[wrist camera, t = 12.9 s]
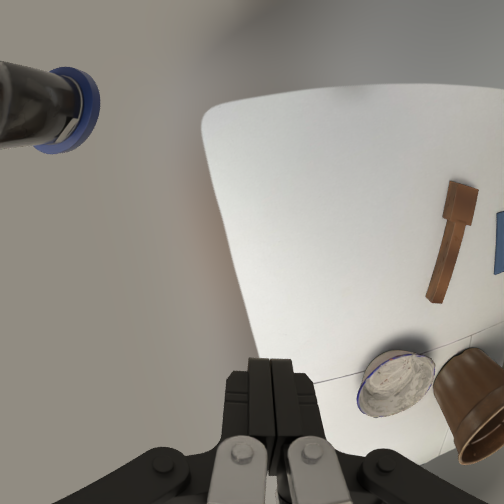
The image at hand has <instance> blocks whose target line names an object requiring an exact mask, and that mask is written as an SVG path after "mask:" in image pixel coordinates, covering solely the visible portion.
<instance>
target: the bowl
mask: <svg viewBox="0 0 504 504" xmlns="http://www.w3.org/2000/svg"><path fill="white" fill-rule="evenodd" d="M434 375H435V363H434V362H433V360H432V359H431V358H429V357H427V356H424V355H421V354H416V353H414V352H413V353H412V352H408V351H403V350H391V351H388V352H385V353H383V354H381V355H380V356H378V357H377V358H375V359H374V360H373V361H372V362H371V363H370V365H369V366H368V368H367V369H366V372H365V374H364V377H363V380H362V383H361V386H360V388H359V391H358V394H357V405H358V408H359V409H360V411H361V412H362V413H364V414H366V415H368V416H371V417H374V418H377V417H386V416H390V415H394V414H397V413H399V412H402V411H405V410H406V409H408V408H409V407H411V406H413V405H414V404H416V403H417V402H418V401H419V400H420V399H421V398H422V397H423V396H424V395H425V394H426V393H427V391H428V390H429V388H430V386H431V385H432V382H433V379H434Z"/></svg>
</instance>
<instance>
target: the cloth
mask: <svg viewBox="0 0 504 504" xmlns="http://www.w3.org/2000/svg"><path fill="white" fill-rule="evenodd" d="M502 272H504V211H503V212H499V213H497V229H496V252H495V266H494V275H496V274H499V273H502Z"/></svg>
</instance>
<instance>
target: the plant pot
mask: <svg viewBox="0 0 504 504" xmlns="http://www.w3.org/2000/svg"><path fill="white" fill-rule="evenodd" d="M433 388H434V396H435V398H436V399H437V401H438V404H439V406H440V408H441V410H442V412H443V414H444V416H445V419H446V421H447V423H448V425H449V427H450V430H451V432H452V434H453V437H454V444H455V446H456V448H457V451H458V454H459V455H458V460H459V462H460V464H462V465H468V464H473V463H476V462H478V461H481V460H483V459H485V458H487V457H488V456H490V455H492V454H493V453H495V452H496V451H497V450H499V449H500V448H501V447H503V446H504V369H502V368H501V367H500V366H499V365H498V364H497V363H496V362H494V361H493V360H492V359H491V358H490V357H489V356H488V355H486V354H485V353H484V352H483V351H482V350H481V349H478V348H470V349H467V350H464V352H463V353H462V354H461V355H458V356H454V357H453V358H452V359H451V360H450V361H449V362H448V363H447V364H446V365H445V366H444V367H443V368H442V370H441V371H440V373H439V374H438V376H437V378H436V380H435V382H434V385H433Z"/></svg>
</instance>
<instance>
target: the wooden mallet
mask: <svg viewBox="0 0 504 504" xmlns="http://www.w3.org/2000/svg"><path fill="white" fill-rule="evenodd" d="M478 191H479V190H478V189H475V188H472V187H469V186H466V185H463V184H460V183H456V182H452V181H450V182H449V187H448V193H447V198H446V202H445V207H444V212H443V216H442V217H443V218H445V219H447V224H446V228H445V232H444V236H443V240H442V244H441V247H440V251H439V255H438V258H437V262H436V265H435V268H434V272H433V275H432V278H431V281H430V285H429V288H428V291H427V294H426V298H427V299H428V300H429V301H430V302H431V303H441V304H442V303H443V300H444V297H445V294H446V291H447V288H448V285H449V282H450V279H451V276H452V273H453V270H454V266H455V263H456V260H457V256H458V253H459V249H460V246H461V242H462V238H463V234H464V230H465V226H466V225H469V226H471V223H472V219H473V215H474V210H475V206H476V201H477V196H478Z"/></svg>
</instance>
